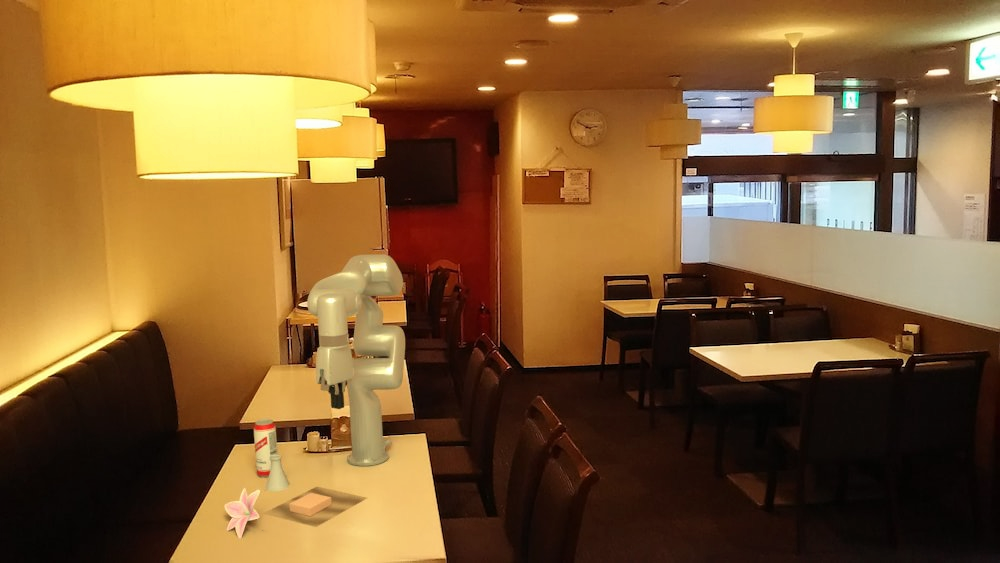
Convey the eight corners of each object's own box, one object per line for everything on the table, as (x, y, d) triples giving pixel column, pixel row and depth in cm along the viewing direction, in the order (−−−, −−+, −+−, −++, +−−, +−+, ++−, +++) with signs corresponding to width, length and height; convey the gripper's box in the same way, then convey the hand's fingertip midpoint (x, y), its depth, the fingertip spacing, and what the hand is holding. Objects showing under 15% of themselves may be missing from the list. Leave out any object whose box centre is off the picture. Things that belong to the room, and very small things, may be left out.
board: (317, 490, 228) (316, 486, 228) (367, 502, 219) (367, 497, 219) (263, 517, 211) (263, 513, 211) (316, 531, 202) (315, 526, 202)
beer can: (268, 479, 238) (265, 426, 235) (252, 476, 240) (248, 423, 238) (283, 472, 243) (279, 419, 241) (266, 469, 246) (263, 417, 244)
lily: (227, 524, 211) (210, 500, 205) (269, 499, 214) (254, 475, 209) (237, 555, 201) (220, 530, 196) (281, 529, 205) (266, 504, 199)
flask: (283, 496, 225) (281, 461, 223) (259, 495, 226) (257, 460, 225) (295, 486, 232) (293, 452, 230) (271, 485, 233) (269, 451, 232)
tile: (311, 492, 218) (289, 503, 211) (331, 497, 215) (309, 508, 208) (311, 500, 218) (289, 511, 212) (331, 505, 215) (310, 516, 208)
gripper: (342, 333, 224) (346, 398, 227) (302, 345, 212) (307, 413, 215) (363, 336, 221) (367, 402, 223) (324, 347, 208) (328, 417, 211)
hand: (337, 407), depth 219 cm, fingers closed
